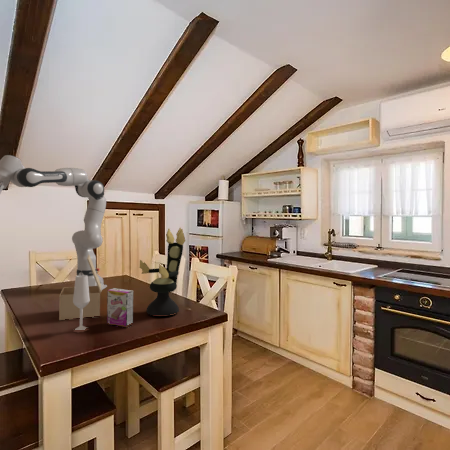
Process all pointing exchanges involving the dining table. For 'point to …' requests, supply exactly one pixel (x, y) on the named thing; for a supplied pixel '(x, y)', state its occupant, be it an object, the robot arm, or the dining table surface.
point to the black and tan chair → (166, 277)
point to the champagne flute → (81, 296)
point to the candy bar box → (120, 306)
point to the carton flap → (94, 272)
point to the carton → (71, 311)
